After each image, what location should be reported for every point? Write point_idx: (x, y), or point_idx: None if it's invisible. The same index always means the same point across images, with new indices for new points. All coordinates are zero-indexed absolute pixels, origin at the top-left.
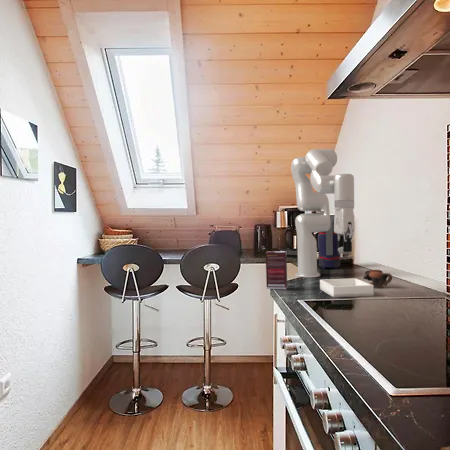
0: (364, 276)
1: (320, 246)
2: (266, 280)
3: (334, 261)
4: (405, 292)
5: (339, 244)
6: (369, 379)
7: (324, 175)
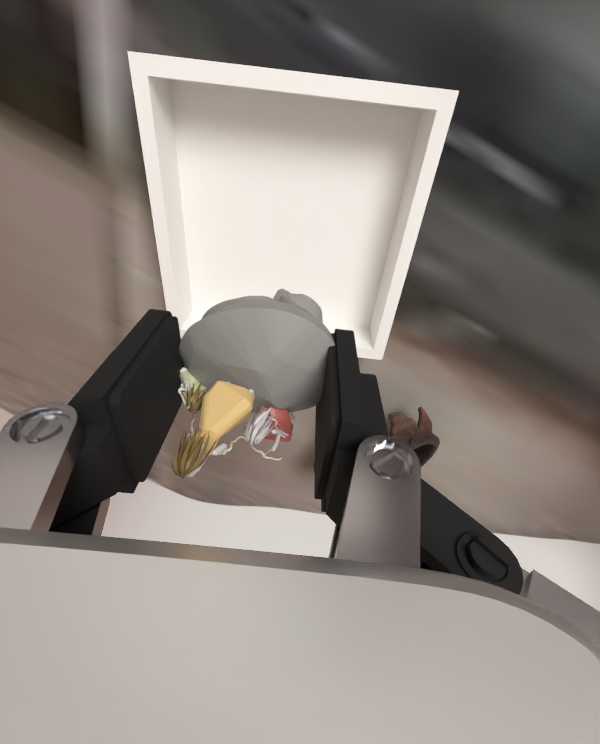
0: (403, 414)
1: None
2: None
3: None
4: (233, 438)
5: (329, 384)
6: None
7: None
